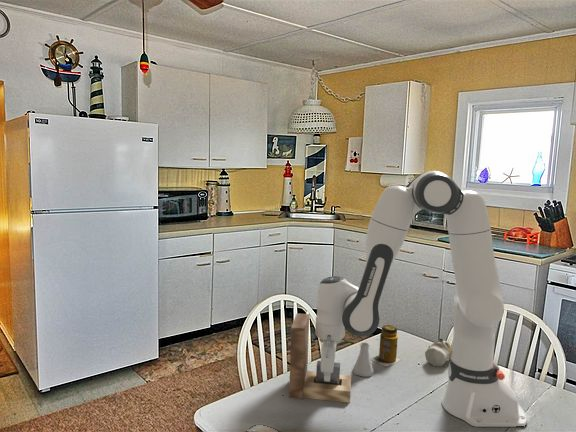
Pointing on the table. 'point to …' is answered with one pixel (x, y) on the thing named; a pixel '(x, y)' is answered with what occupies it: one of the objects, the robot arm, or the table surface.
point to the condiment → (387, 346)
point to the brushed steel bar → (333, 377)
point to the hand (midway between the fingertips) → (328, 372)
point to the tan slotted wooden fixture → (306, 380)
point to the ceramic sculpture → (438, 353)
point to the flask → (363, 362)
